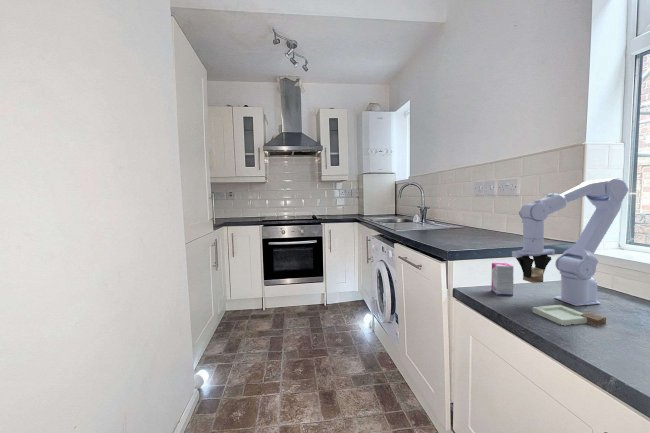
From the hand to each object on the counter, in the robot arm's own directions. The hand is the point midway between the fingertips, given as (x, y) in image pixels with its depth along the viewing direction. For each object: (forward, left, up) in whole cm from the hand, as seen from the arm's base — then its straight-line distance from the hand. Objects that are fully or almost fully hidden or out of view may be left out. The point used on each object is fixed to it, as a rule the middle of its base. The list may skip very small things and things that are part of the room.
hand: (533, 276), depth 96 cm
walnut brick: (-3, +17, -10) cm, 20 cm away
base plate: (+2, +12, -9) cm, 15 cm away
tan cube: (0, 0, -2) cm, 2 cm away
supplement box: (+3, -11, -10) cm, 15 cm away
